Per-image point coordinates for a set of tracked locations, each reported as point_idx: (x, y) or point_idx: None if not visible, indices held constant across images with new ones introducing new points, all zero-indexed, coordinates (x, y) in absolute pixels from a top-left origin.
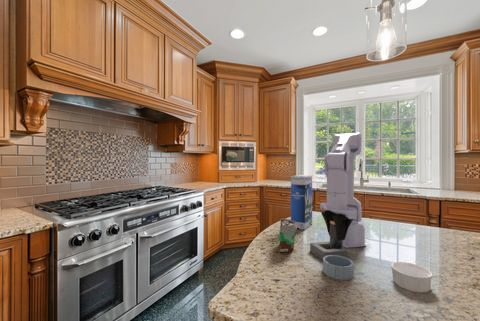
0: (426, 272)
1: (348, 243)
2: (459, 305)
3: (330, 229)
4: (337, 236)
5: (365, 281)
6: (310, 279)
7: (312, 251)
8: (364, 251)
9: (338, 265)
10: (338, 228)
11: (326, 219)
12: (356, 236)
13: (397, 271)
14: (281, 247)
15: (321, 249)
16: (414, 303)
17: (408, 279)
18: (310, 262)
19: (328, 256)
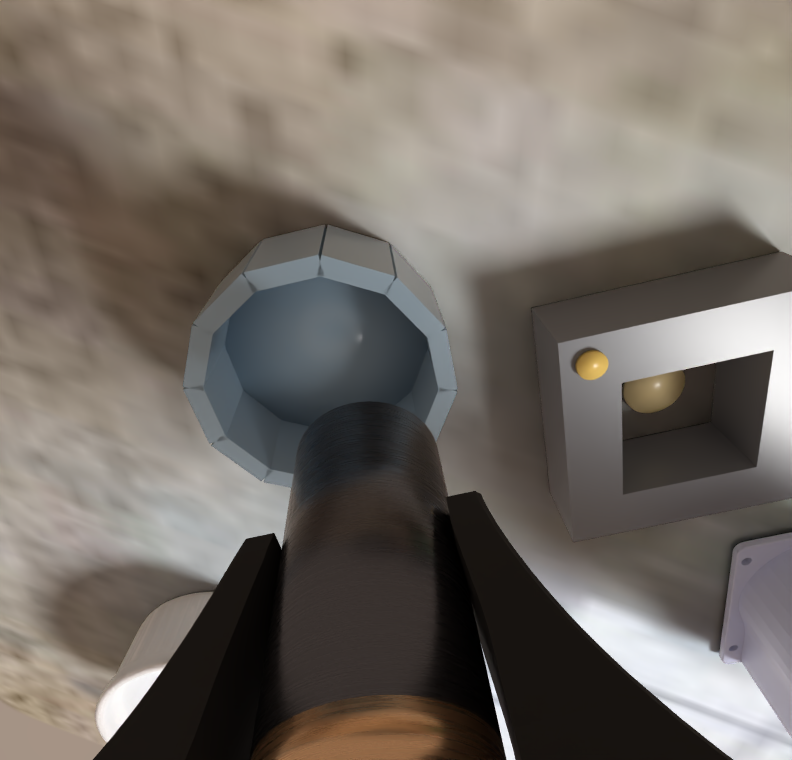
0: None
1: (764, 587)
2: (67, 701)
3: (363, 580)
4: (237, 569)
5: (216, 464)
6: (170, 40)
7: (745, 266)
8: (649, 618)
9: (414, 385)
10: (133, 714)
11: (528, 730)
12: (785, 679)
13: (158, 663)
14: None
15: (636, 339)
16: (20, 575)
17: (126, 662)
18: (533, 168)
19: (428, 342)
